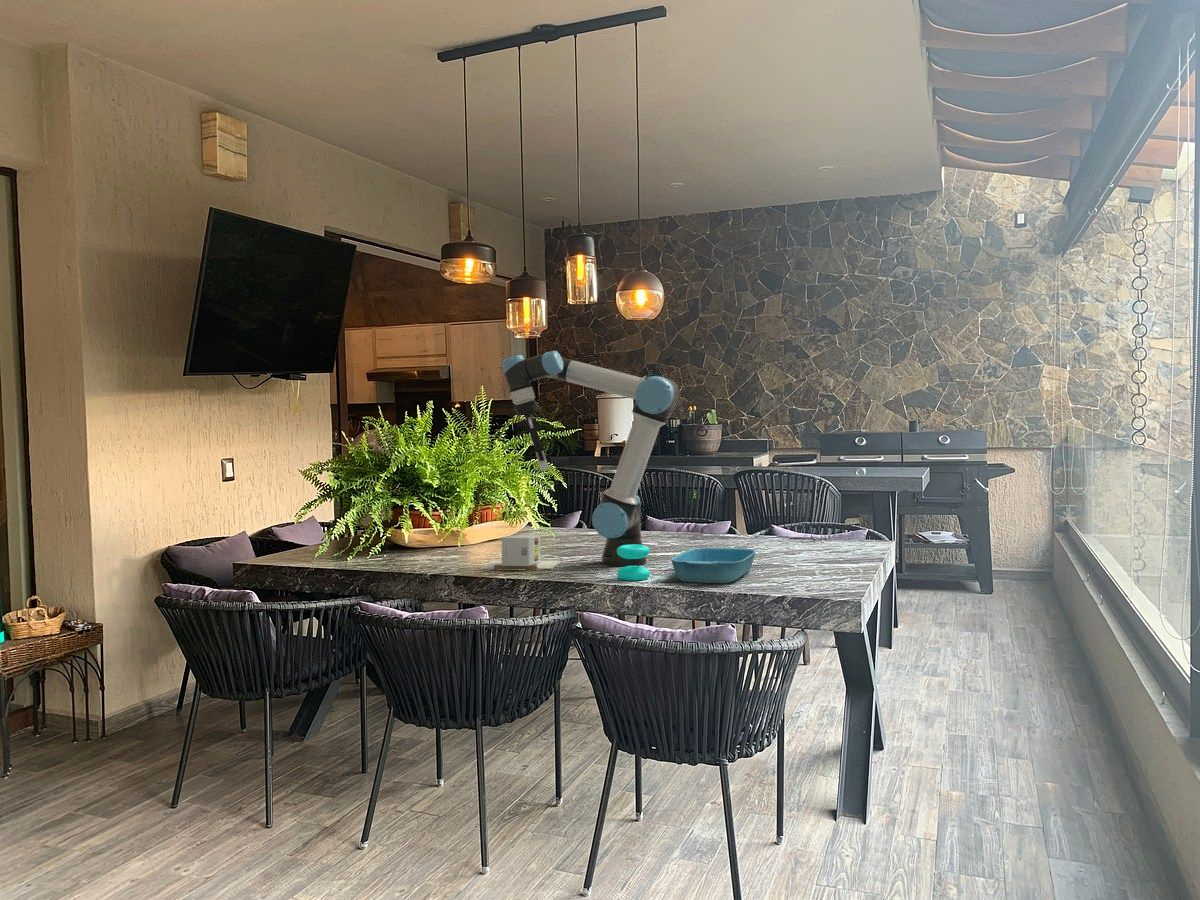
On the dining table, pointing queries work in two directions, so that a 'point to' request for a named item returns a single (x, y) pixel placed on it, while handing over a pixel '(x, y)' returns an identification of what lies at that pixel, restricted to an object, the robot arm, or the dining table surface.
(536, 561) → the supplement box
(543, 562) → the mat
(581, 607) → the dining table surface
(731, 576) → the casserole dish
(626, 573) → the donuts
